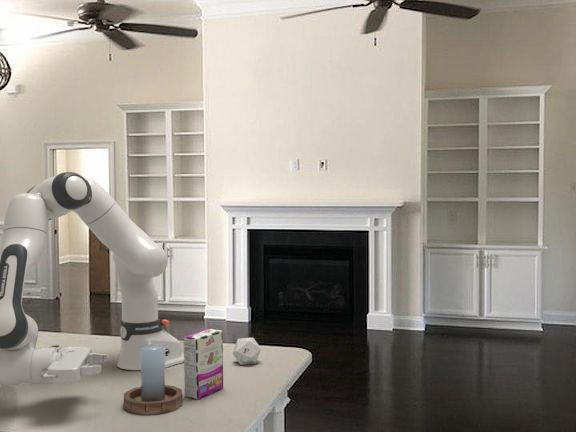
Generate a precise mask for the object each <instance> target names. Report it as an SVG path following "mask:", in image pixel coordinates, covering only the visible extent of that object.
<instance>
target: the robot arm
mask: <svg viewBox="0 0 576 432" xmlns="http://www.w3.org/2000/svg"><path fill="white" fill-rule="evenodd" d="M71 212H73V213H75V214H76V215H77V216H78V217H79V218H80V220H81V221H82V222H83V223H84V225H85V226H87V227H88V228H89V230H90V231H91V232H92V233H93V234H94V235H95V237H96V238H97V239H98V240H99V241H100V242H101V244H103V245H104V246H105V247H107V249H109V250H110V251H111V252H112V259H113V260H112V261H113V262H114V266H115V268H116V272H117V277H118V283H119V289H120V294H121V320H120V339H121V342H120V351H119V356H118V359H117V363H116V367H118V368H120V369H123V370H129V371H141V347H142V346H145V345H154V344H156V345H163V346H165V368H168V367H171V366H175V365H177V364H181V363H184V352H182V346H181V342H180V341H179V340H178V339H177V338H176V337H174V336H173V335H171V334H170V333H169V332H167V331H166V330H165V329H164V327H165V328H166V327H169V325H170V321H169V320H168V319H161V318H159V297H158V296H159V295H158V292H157V289H156V287H155V284H154V279H153V278H156V277H159V276H160V275H162V274H163V273H164V272H165V271H166V269H167V267H168V263H169V257H168V255H167V252H166V250H164V249H163V248H162V247H161V246H160V245H158V244H157V242H155V241H154V240H153V239H152V238H151V237H150V236H149V235H148V234H147V233H146V232H145V231H144V230H143V229H142V228H141V227H139V226H138V225H137V224H136V223H135V222H134V221H133V220H132V219H131V218H130V217H129V215H128V214H127V213H126V212H125V211H124V210H123V208H122V207H121V205H119V204H118V203H117V201H116V200H115V199H114V198H113V196H112V195H110V194H109V192H108V191H107V190H105V188H103V187H102V186H101V184H99V183H98V182H96V180H94V179H92V178H85V177H84V176H82V174H79V173H76V172H74V171H67V172H60V173H58V174H57V175H54V176H51V177H48V178H46V179H44V180H43V181H42V182H40V183H38V184H37V185H34V186H33V187H30V188H29V190H27V192H24V193H23V192H22V193H18V194H16V195H14V196H13V197H11V199H10V200H9V202H8V205H7V208H6V212H5V216H4V220H3V221H4V222H3V227H2V233H1V235H2V236H1V246H0V247H1V249H0V250H1V251H0V386H5V387H6V386H19V385H21V384H30V385H48V384H50V385H51V384H74V383H75V384H76V383H78V382H79V381H80V379H81V378H82V377H85V376H90V375H93V374H101V373H102V370H103V369H102V368H103V366H102V364H101V363H106V362H107V361H108V354H106V353H104V354H103V353H97V352H93V351H92V348H91V347H88V346H63V347H62V344H54V345H52V346H47V347H39V348H38V347H37V348H36V346H37V345H36V344H37V340H38V337H39V326H38V323H37V322H36V321H35V320H34V318H32V316H30V315H29V314H27V313H25V311H24V308H23V297H24V290H25V289H24V288H25V281H26V276H27V273H28V271H29V269H30V268H32V266H35V265H37V264H38V263H39V262H40V261H41V260H42V259H43V258H44V255H45V251H46V247H47V244H48V243H47V241H48V230H49V228H48V225H49V221H51V220H54V219H57V218H61V217H63V216H66V215H67V214H69V213H71ZM163 326H164V327H163ZM96 362H98V363H100V364H94V365H90V363H96Z"/></svg>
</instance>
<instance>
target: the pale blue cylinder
mask: <svg viewBox="0 0 576 432" xmlns="http://www.w3.org/2000/svg"><path fill="white" fill-rule="evenodd" d="M165 385H166V367H165V346H163V345H156V344H154V345H145V346H142V347H141V370H140V387H141V401H145V402H151V401H161V400H165Z"/></svg>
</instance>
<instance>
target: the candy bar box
mask: <svg viewBox="0 0 576 432" xmlns="http://www.w3.org/2000/svg"><path fill="white" fill-rule="evenodd" d="M223 349H224V347H223V330H221V329H216V328H215V329H214V328H207V329H205V330H201V331H199V332H196V333H192V334H189V335H186V336H183V353H184V362H183V363H184V366H183V367H184V368H183V370H184V371H183V373H184V396H185V397H186V398H188V399H194V400H201V399H202V398H205V397H208V396H210V395H212V394H213V393H216V392H219V391H221V390H222V389H224V361H223V358H224V357H223V356H224V355H223V354H224V352H223V351H224V350H223Z"/></svg>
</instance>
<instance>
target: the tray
mask: <svg viewBox="0 0 576 432" xmlns="http://www.w3.org/2000/svg"><path fill="white" fill-rule="evenodd" d="M183 404H184V403H183V390H182V388H179V387H176V386H175V385H169V384H168V385H167V384H165V400H161V401H151V402H145V401H141V386H138V387H133V388H131V389H129V390H128V391H126V392H124V394H123V409H124V410H125V411H126V412H127V413H131V414H134V415H140V416H141V415H143V416H145V415H146V416H150V415H161V414H166V413H170V412H173V411H175V410H178V409H179V408H181V406H183Z"/></svg>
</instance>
